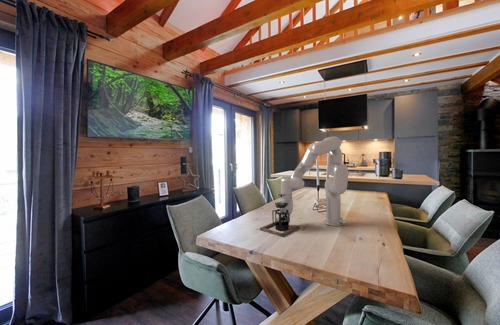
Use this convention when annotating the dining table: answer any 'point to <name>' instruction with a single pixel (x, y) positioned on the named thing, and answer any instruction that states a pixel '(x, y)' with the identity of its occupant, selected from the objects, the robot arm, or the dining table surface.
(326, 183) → the robot arm
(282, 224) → the french press
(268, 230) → the walnut bay
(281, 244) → the dining table surface
